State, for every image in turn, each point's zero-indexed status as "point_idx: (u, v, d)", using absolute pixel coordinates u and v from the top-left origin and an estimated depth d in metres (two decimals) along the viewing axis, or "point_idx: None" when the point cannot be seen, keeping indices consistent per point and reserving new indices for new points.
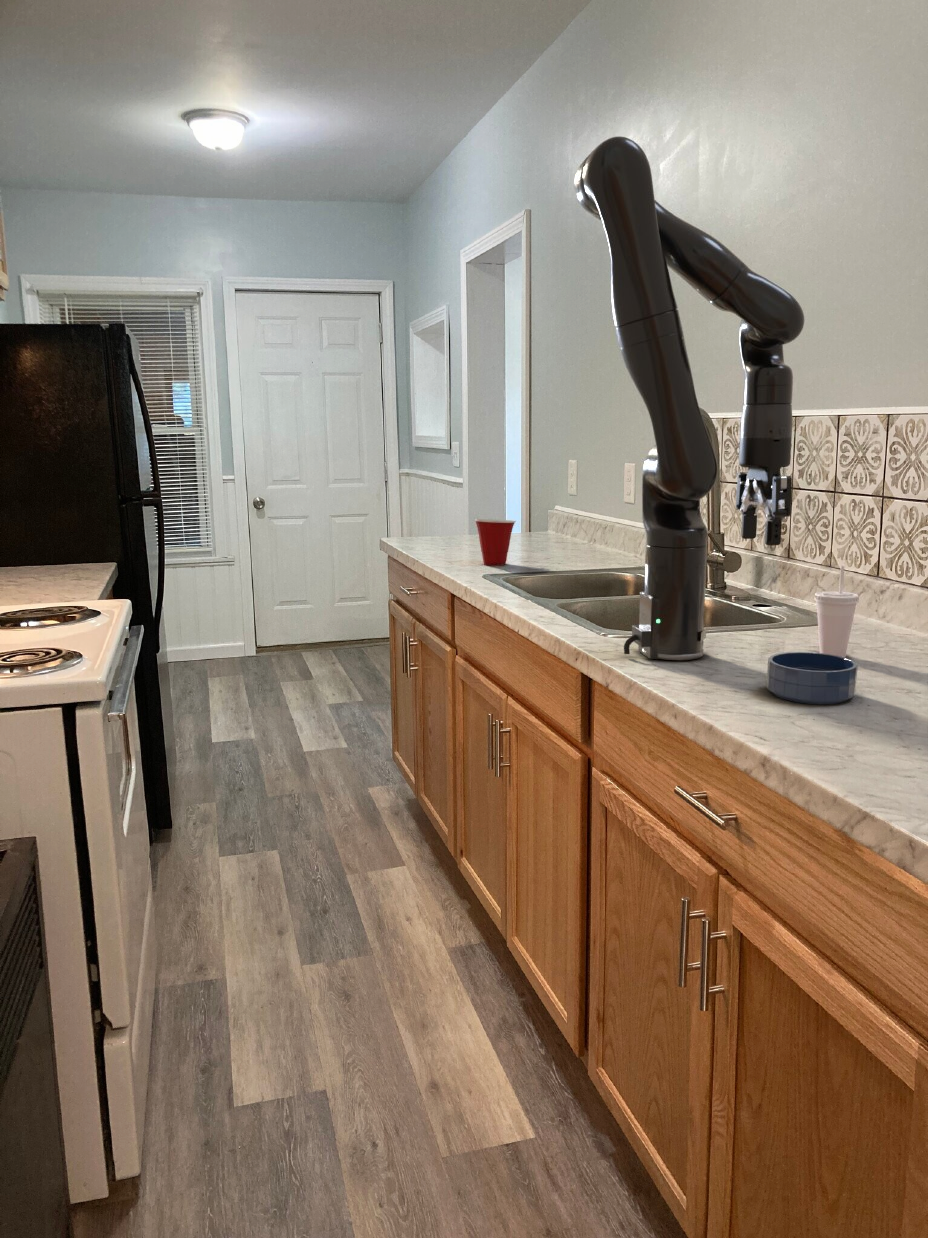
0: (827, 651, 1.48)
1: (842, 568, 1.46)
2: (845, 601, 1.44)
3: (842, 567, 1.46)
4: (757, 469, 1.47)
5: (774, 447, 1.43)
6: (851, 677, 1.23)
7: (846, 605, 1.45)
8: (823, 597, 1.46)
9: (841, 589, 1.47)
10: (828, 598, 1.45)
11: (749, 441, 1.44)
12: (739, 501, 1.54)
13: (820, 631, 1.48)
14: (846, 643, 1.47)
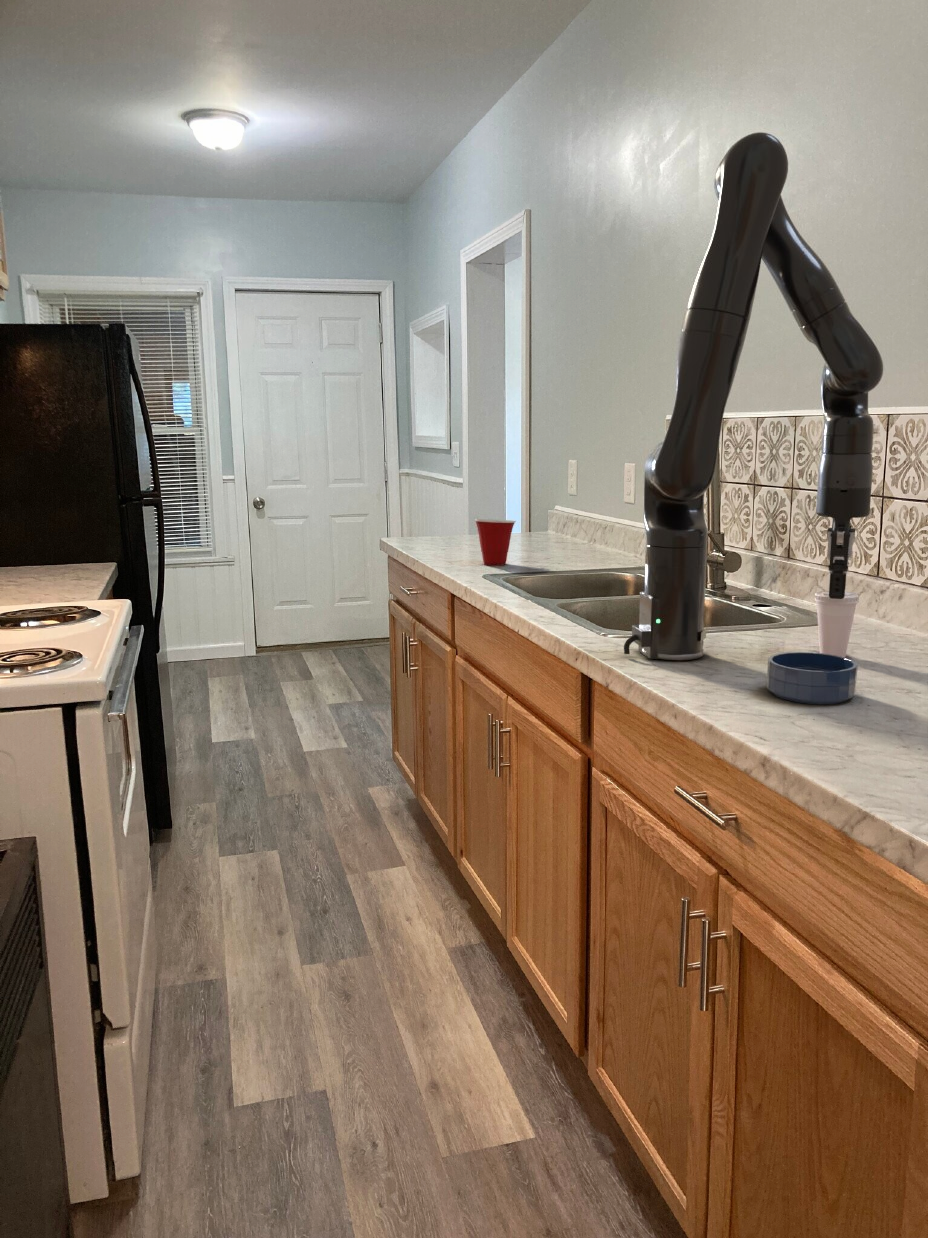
0: (827, 651, 1.48)
1: None
2: (845, 601, 1.44)
3: None
4: None
5: (841, 497, 1.41)
6: (851, 677, 1.23)
7: (846, 605, 1.45)
8: (823, 597, 1.46)
9: None
10: (828, 598, 1.45)
11: (820, 490, 1.44)
12: None
13: (820, 631, 1.48)
14: (846, 643, 1.47)
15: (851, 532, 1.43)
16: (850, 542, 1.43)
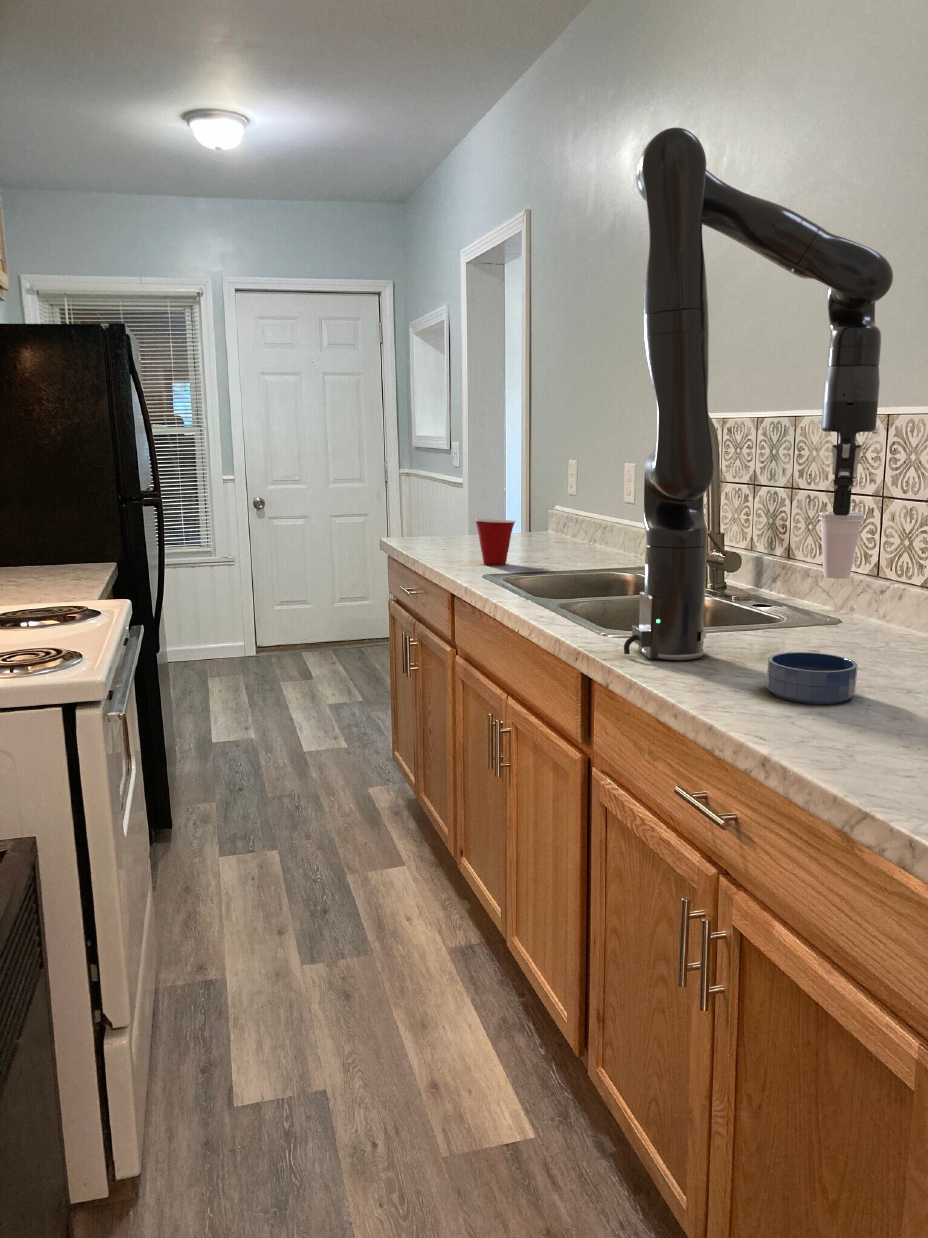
0: (831, 570, 1.45)
1: None
2: (850, 518, 1.42)
3: None
4: None
5: (847, 410, 1.38)
6: (851, 677, 1.23)
7: (851, 522, 1.42)
8: (828, 515, 1.43)
9: None
10: (833, 515, 1.42)
11: (825, 404, 1.41)
12: None
13: (824, 551, 1.45)
14: (850, 563, 1.44)
15: (857, 447, 1.41)
16: (855, 457, 1.40)
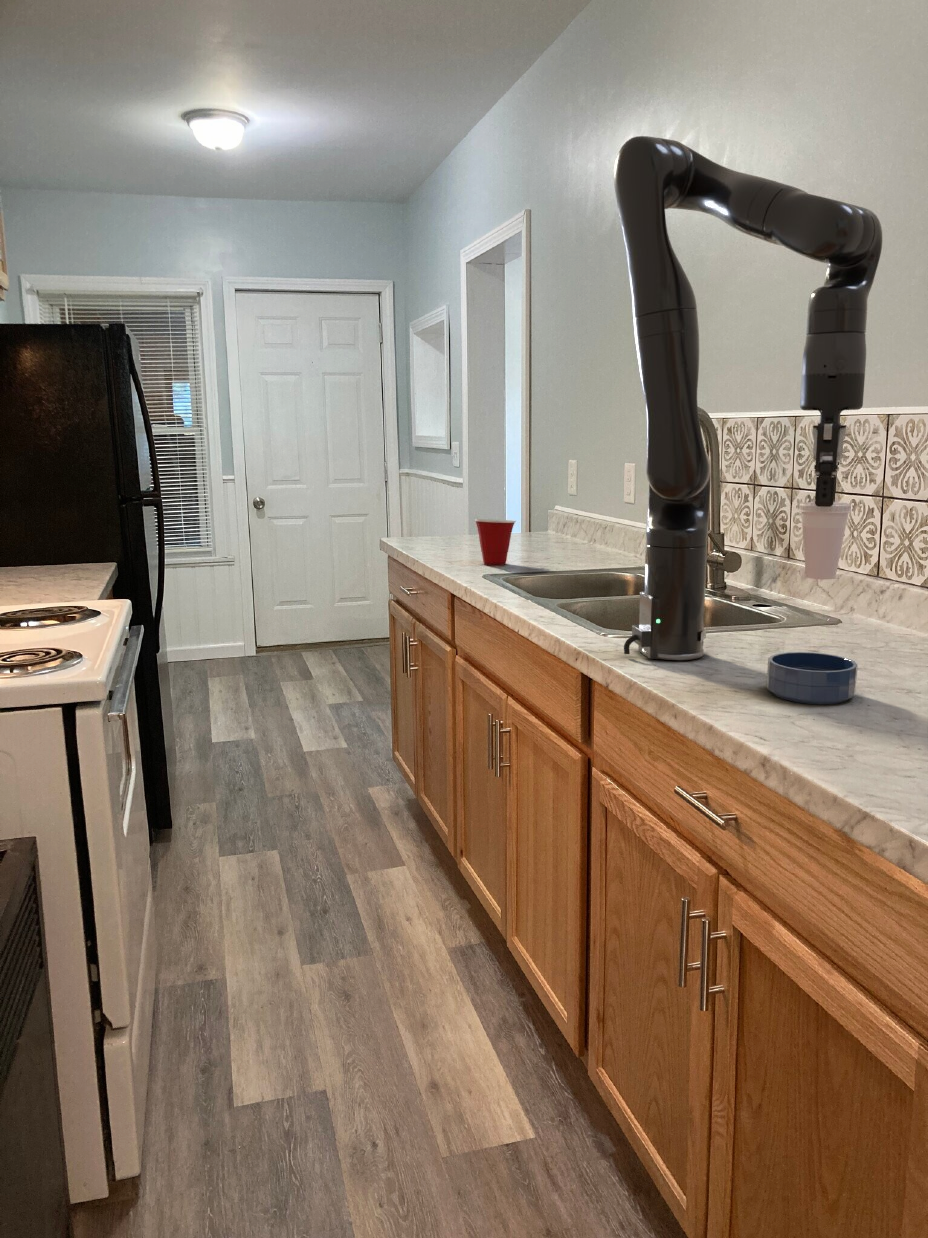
0: (814, 570, 1.26)
1: None
2: (835, 510, 1.23)
3: None
4: None
5: (829, 384, 1.19)
6: (851, 677, 1.23)
7: (836, 515, 1.23)
8: (809, 506, 1.24)
9: None
10: (815, 507, 1.23)
11: (804, 378, 1.22)
12: None
13: (806, 547, 1.26)
14: (836, 561, 1.25)
15: (841, 427, 1.22)
16: (839, 439, 1.21)
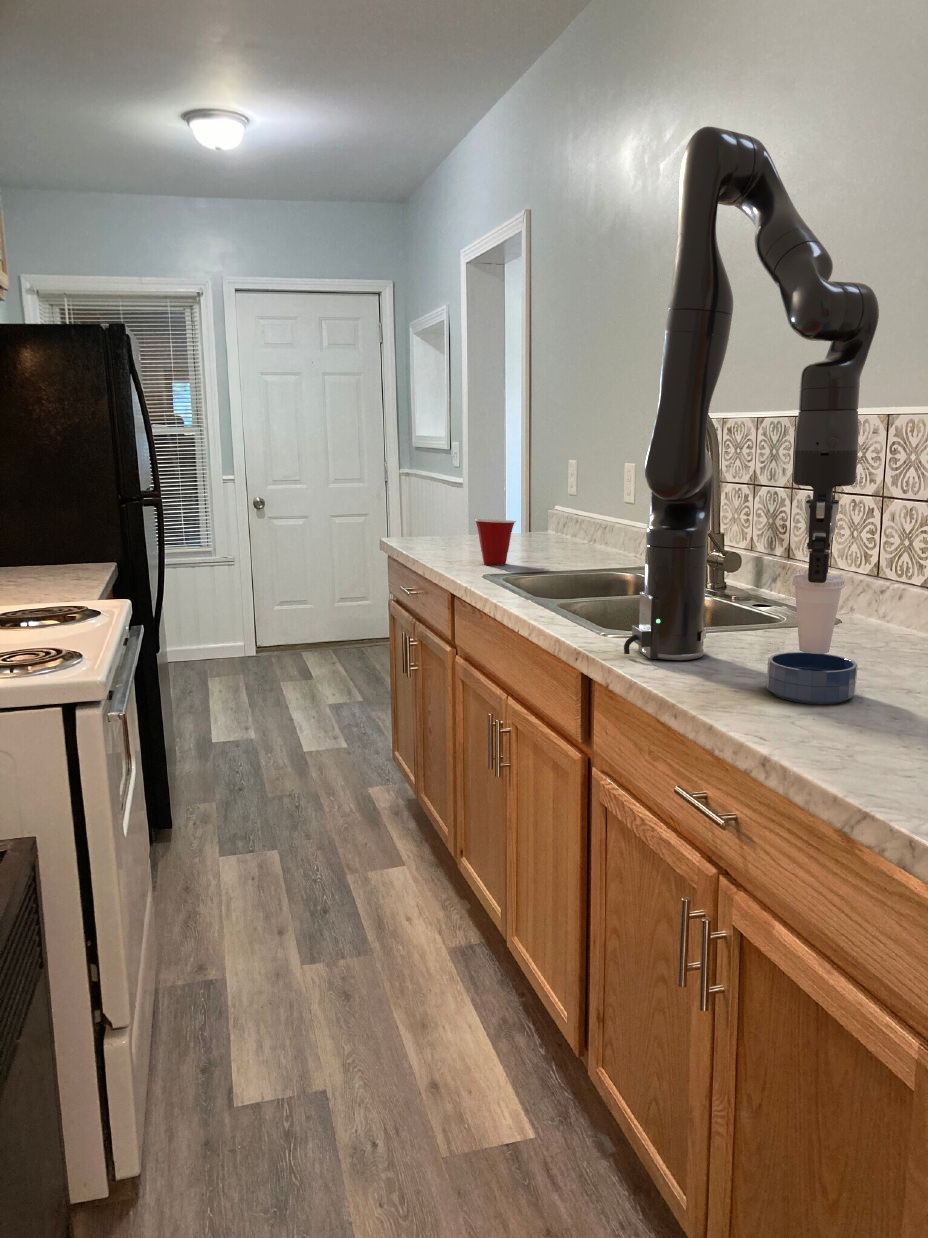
0: (808, 644, 1.25)
1: None
2: (828, 585, 1.22)
3: None
4: None
5: (821, 462, 1.19)
6: (851, 677, 1.23)
7: (829, 590, 1.23)
8: (802, 581, 1.24)
9: None
10: (808, 582, 1.23)
11: (797, 454, 1.22)
12: None
13: (799, 621, 1.26)
14: (830, 635, 1.25)
15: (834, 504, 1.21)
16: (832, 516, 1.21)
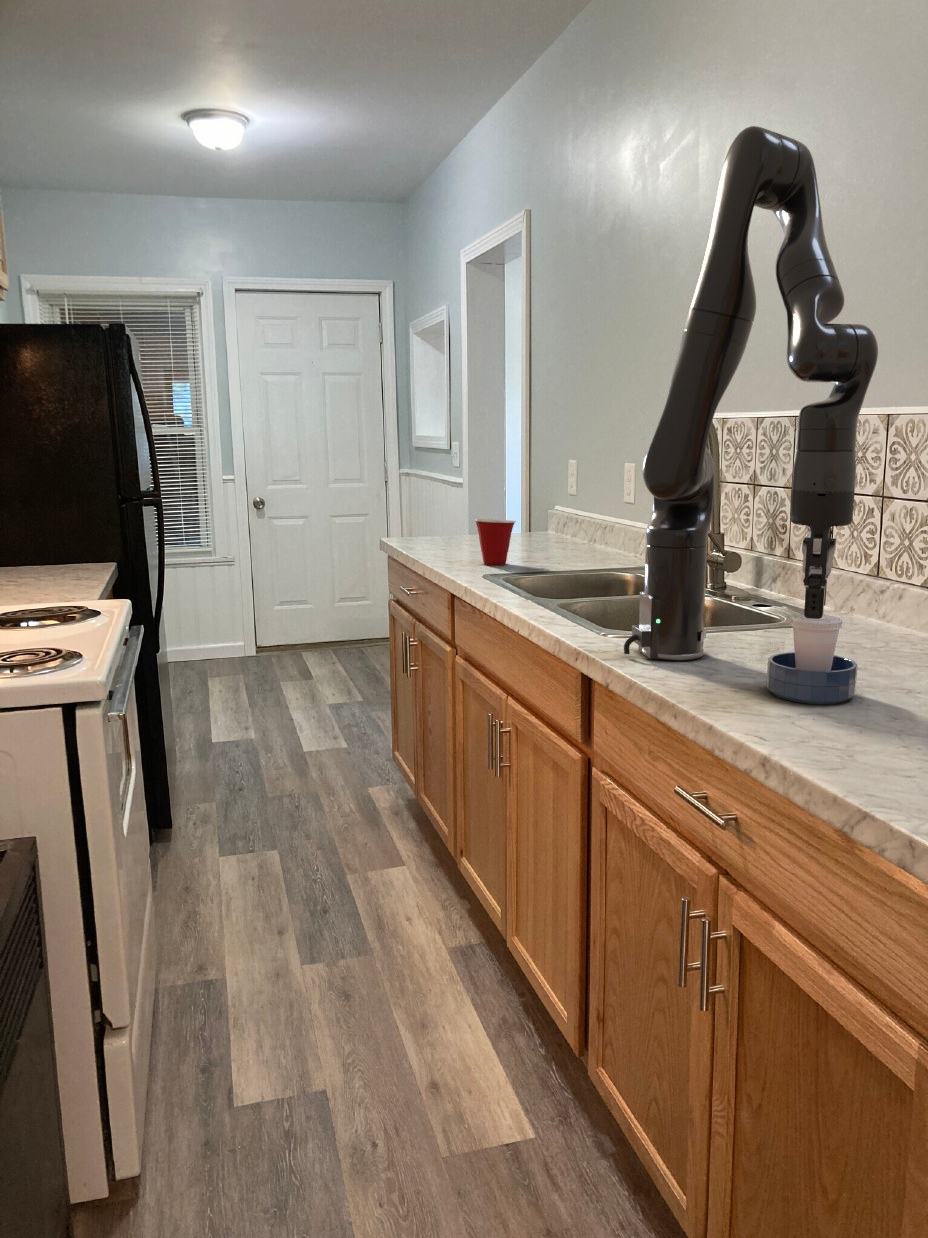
0: None
1: None
2: (826, 627, 1.23)
3: None
4: None
5: (818, 502, 1.20)
6: (851, 677, 1.23)
7: (827, 631, 1.24)
8: (800, 622, 1.24)
9: None
10: (806, 623, 1.24)
11: (794, 494, 1.22)
12: None
13: (797, 661, 1.27)
14: None
15: (831, 543, 1.22)
16: (829, 554, 1.21)
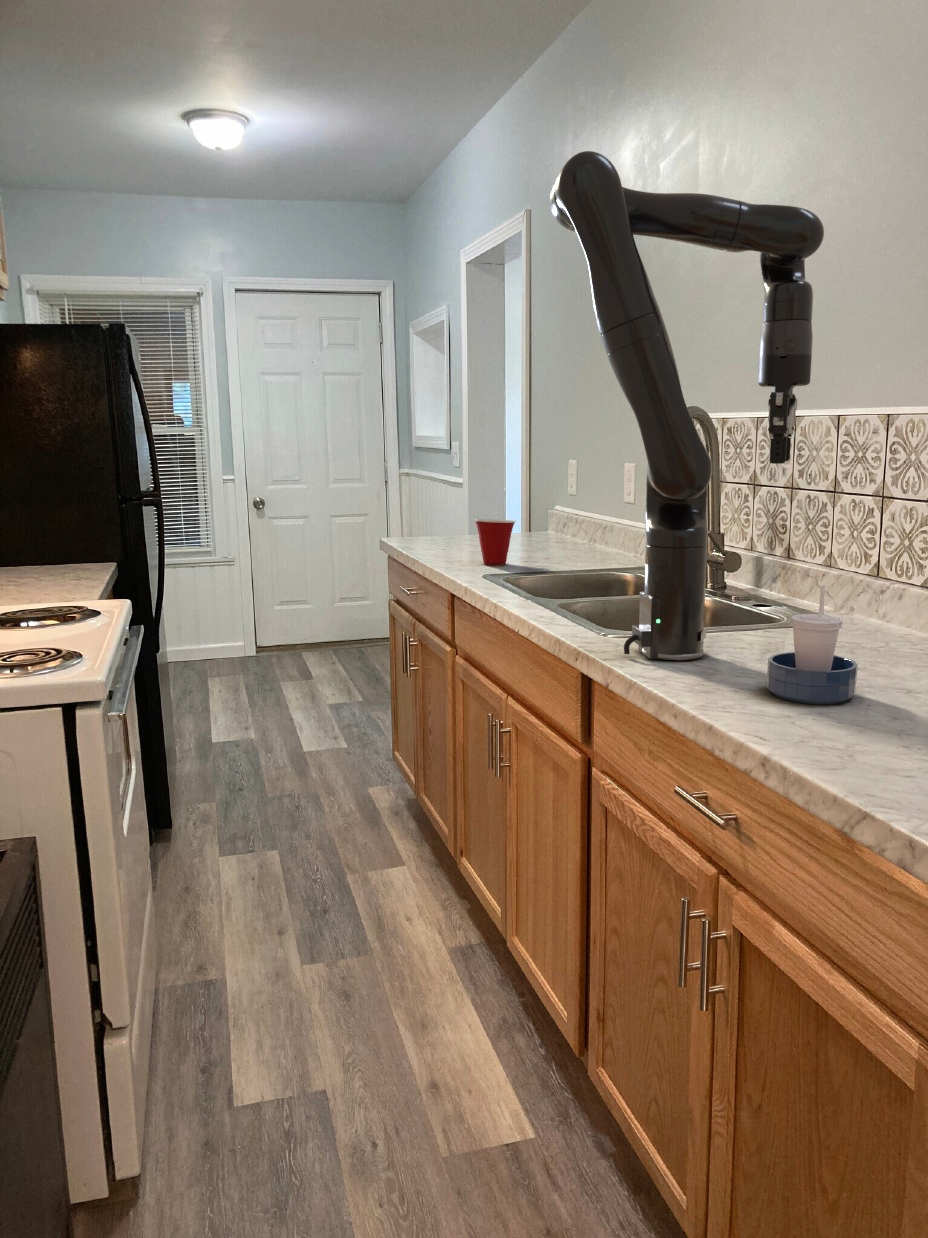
0: None
1: (822, 588, 1.25)
2: (826, 627, 1.23)
3: (822, 587, 1.25)
4: None
5: (781, 363, 1.42)
6: (851, 677, 1.23)
7: (827, 631, 1.24)
8: (800, 622, 1.24)
9: (822, 612, 1.25)
10: (806, 623, 1.24)
11: (761, 359, 1.45)
12: None
13: (797, 661, 1.27)
14: None
15: (792, 400, 1.45)
16: (790, 408, 1.44)
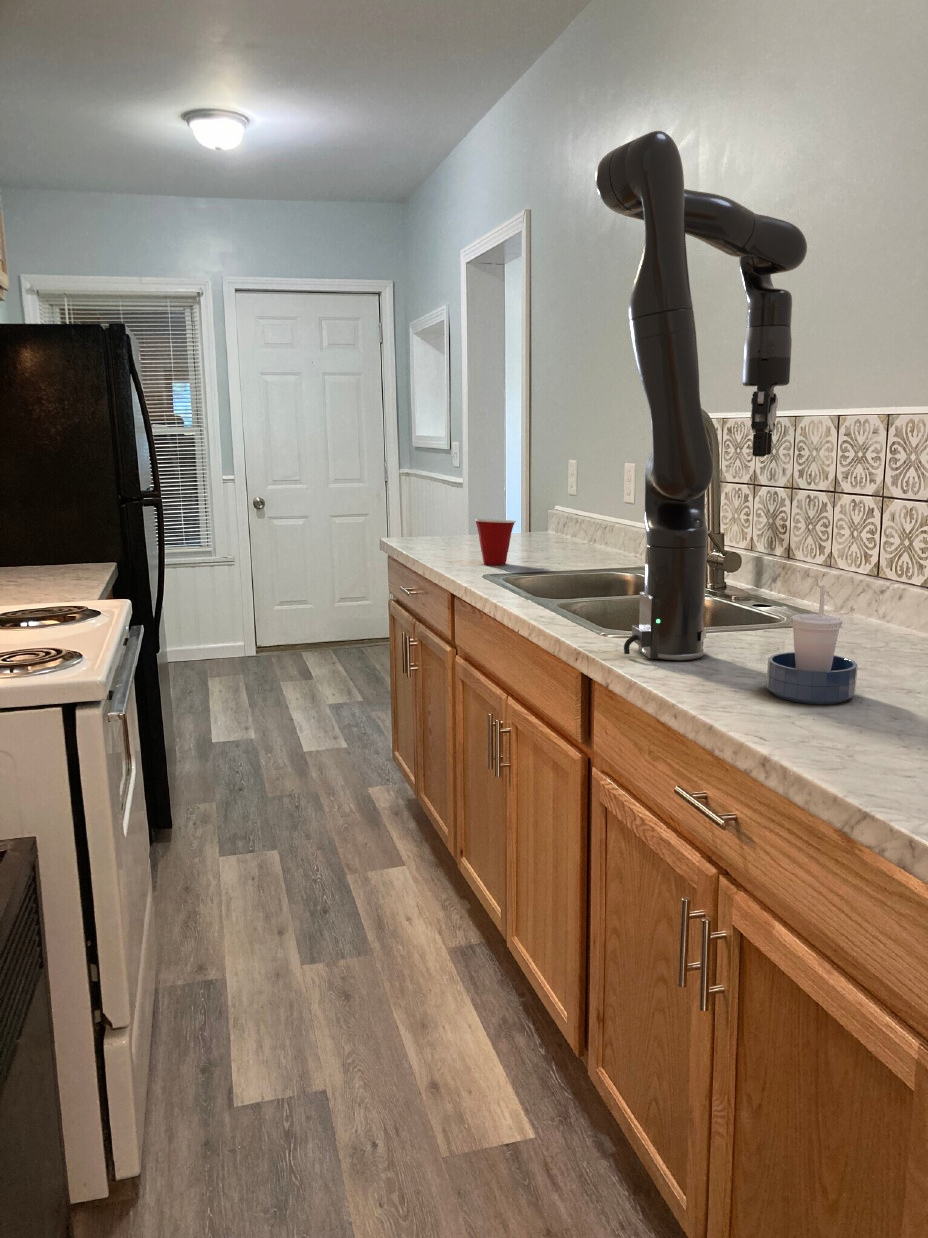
0: None
1: (822, 588, 1.25)
2: (826, 627, 1.23)
3: (822, 587, 1.25)
4: None
5: (762, 365, 1.56)
6: (851, 677, 1.23)
7: (827, 631, 1.24)
8: (800, 622, 1.24)
9: (822, 612, 1.25)
10: (806, 623, 1.24)
11: (744, 361, 1.59)
12: None
13: (797, 661, 1.27)
14: None
15: (772, 399, 1.58)
16: (771, 406, 1.58)
